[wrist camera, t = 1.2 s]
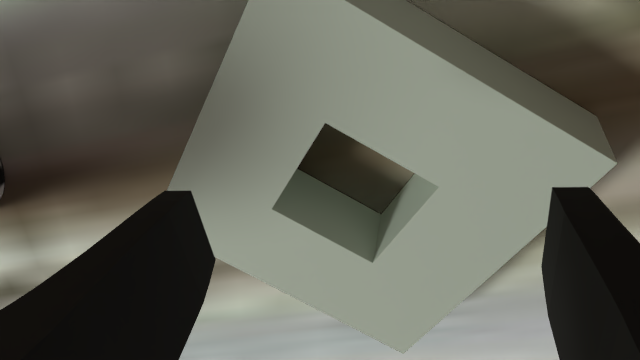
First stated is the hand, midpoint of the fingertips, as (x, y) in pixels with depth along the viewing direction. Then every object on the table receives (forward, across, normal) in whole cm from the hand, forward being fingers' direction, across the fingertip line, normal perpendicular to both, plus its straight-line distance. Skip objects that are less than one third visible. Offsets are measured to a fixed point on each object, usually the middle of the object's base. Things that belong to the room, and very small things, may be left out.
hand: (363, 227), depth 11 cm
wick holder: (+10, +2, +5) cm, 11 cm away
